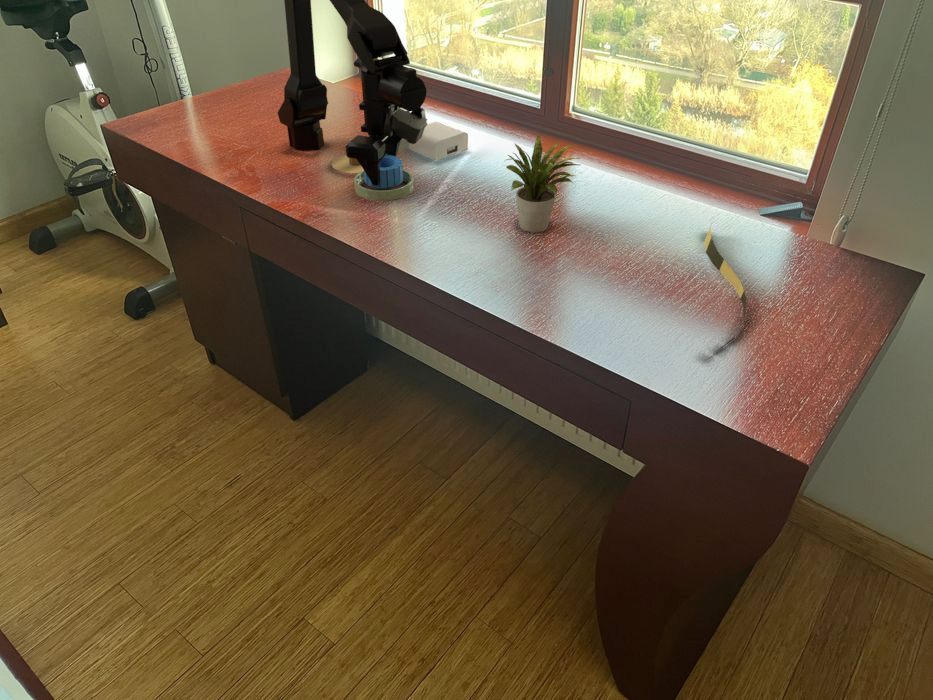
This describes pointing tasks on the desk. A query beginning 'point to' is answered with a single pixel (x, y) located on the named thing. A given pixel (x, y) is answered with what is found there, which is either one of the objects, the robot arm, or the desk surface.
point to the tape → (724, 271)
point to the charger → (440, 141)
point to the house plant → (537, 185)
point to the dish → (384, 194)
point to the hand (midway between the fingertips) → (383, 177)
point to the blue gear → (388, 173)
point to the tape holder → (347, 164)
